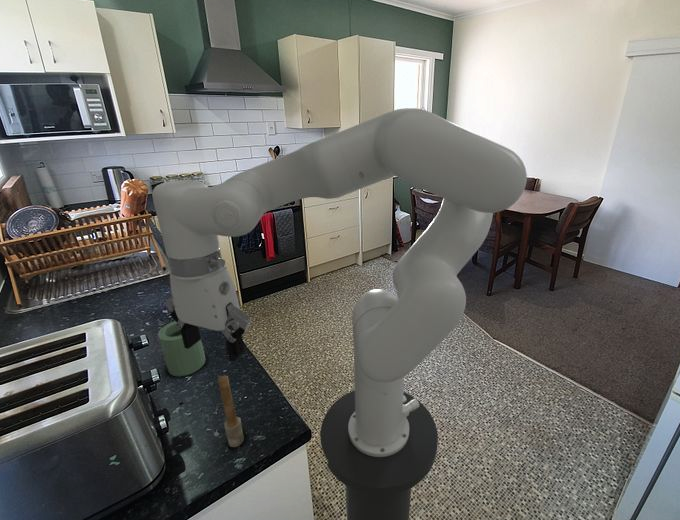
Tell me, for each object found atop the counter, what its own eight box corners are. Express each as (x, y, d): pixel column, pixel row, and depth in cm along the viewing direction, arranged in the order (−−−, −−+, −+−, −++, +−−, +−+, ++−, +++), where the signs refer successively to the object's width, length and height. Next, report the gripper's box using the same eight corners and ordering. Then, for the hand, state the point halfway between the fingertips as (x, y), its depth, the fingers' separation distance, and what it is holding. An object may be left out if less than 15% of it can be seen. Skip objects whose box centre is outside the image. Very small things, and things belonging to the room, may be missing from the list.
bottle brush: (241, 431, 71) (228, 370, 65) (246, 442, 69) (233, 380, 63) (226, 439, 70) (212, 377, 64) (230, 450, 68) (216, 387, 61)
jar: (201, 349, 96) (193, 315, 92) (208, 367, 89) (200, 331, 85) (165, 361, 92) (155, 326, 87) (170, 381, 85) (160, 345, 81)
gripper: (257, 260, 54) (268, 348, 61) (173, 246, 60) (193, 328, 67) (223, 280, 48) (241, 376, 55) (134, 262, 54) (159, 351, 60)
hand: (214, 350), depth 61 cm, fingers open, 9 cm apart
